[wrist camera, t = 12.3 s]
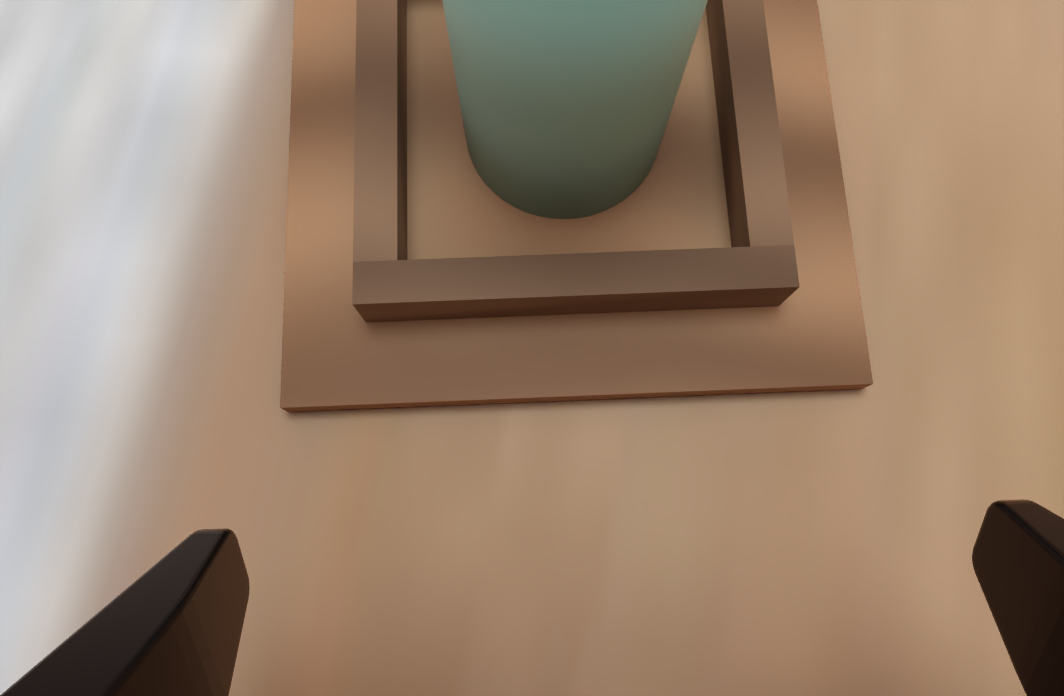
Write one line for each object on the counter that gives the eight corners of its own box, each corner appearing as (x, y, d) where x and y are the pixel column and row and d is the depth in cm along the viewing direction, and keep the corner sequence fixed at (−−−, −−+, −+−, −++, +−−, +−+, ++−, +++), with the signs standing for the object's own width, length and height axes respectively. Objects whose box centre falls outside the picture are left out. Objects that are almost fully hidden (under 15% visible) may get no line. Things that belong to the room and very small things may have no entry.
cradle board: (862, 388, 19) (902, 370, 17) (287, 411, 19) (258, 396, 17) (793, -92, 22) (820, -156, 20) (303, -76, 22) (280, -138, 20)
